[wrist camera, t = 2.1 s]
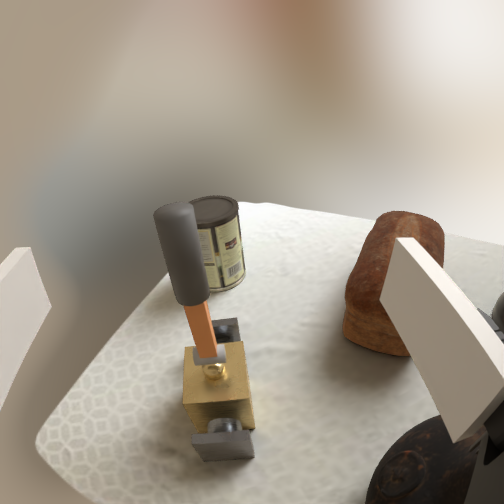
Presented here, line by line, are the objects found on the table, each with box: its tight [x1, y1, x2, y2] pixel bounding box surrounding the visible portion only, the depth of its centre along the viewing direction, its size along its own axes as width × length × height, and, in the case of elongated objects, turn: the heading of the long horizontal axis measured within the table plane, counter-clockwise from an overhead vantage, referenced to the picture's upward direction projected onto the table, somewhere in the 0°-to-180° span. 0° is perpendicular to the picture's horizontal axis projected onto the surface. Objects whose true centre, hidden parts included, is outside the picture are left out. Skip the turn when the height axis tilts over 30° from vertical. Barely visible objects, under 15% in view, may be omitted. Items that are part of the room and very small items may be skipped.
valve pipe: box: [183, 318, 255, 461], centre depth 37 cm, size 18×7×9 cm, turn 6°
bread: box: [343, 211, 445, 356], centre depth 48 cm, size 14×28×12 cm, turn 149°
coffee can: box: [188, 196, 246, 292], centre depth 58 cm, size 10×10×14 cm
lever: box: [153, 202, 226, 366], centre depth 28 cm, size 3×3×18 cm
